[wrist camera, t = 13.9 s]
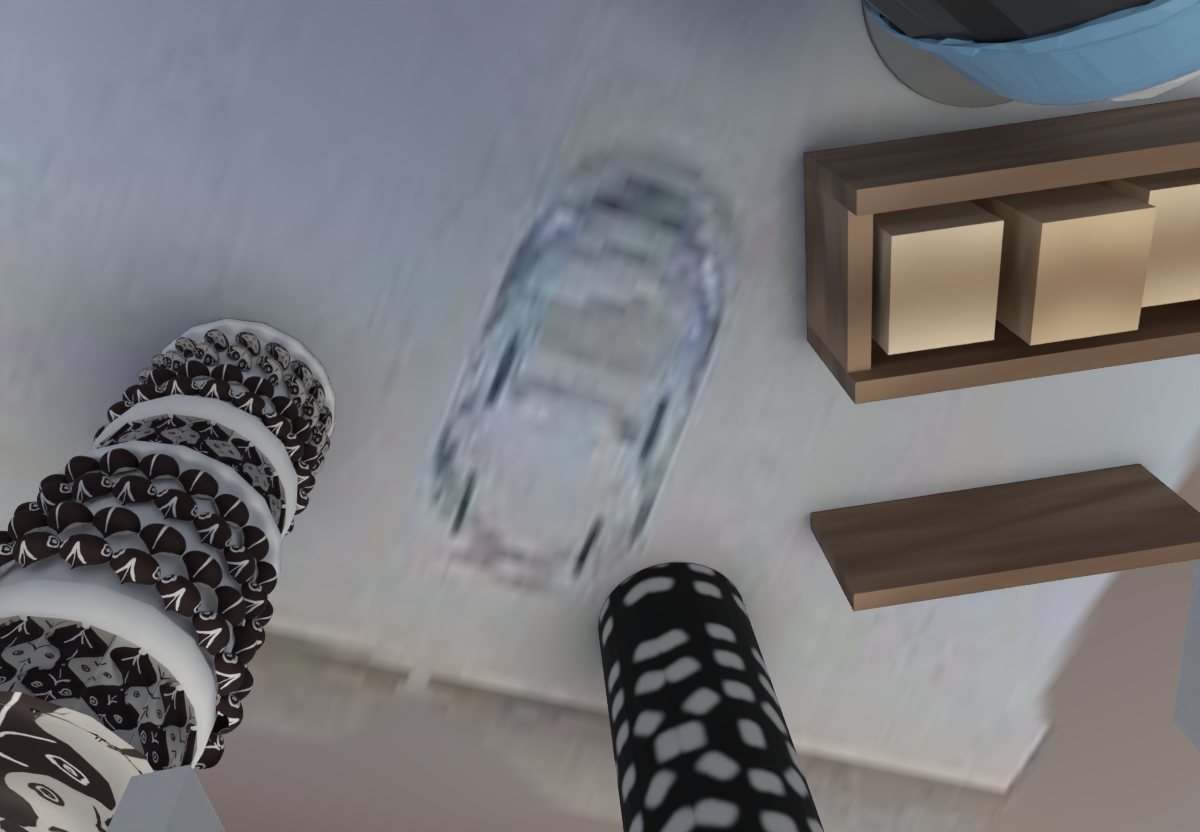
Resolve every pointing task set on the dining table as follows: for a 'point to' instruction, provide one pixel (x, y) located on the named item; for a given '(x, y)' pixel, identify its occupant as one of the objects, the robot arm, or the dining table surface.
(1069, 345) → the rack
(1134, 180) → the offcut block
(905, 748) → the dining table surface
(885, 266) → the offcut block
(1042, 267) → the offcut block
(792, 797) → the spotted tube
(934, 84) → the mat
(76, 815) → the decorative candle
